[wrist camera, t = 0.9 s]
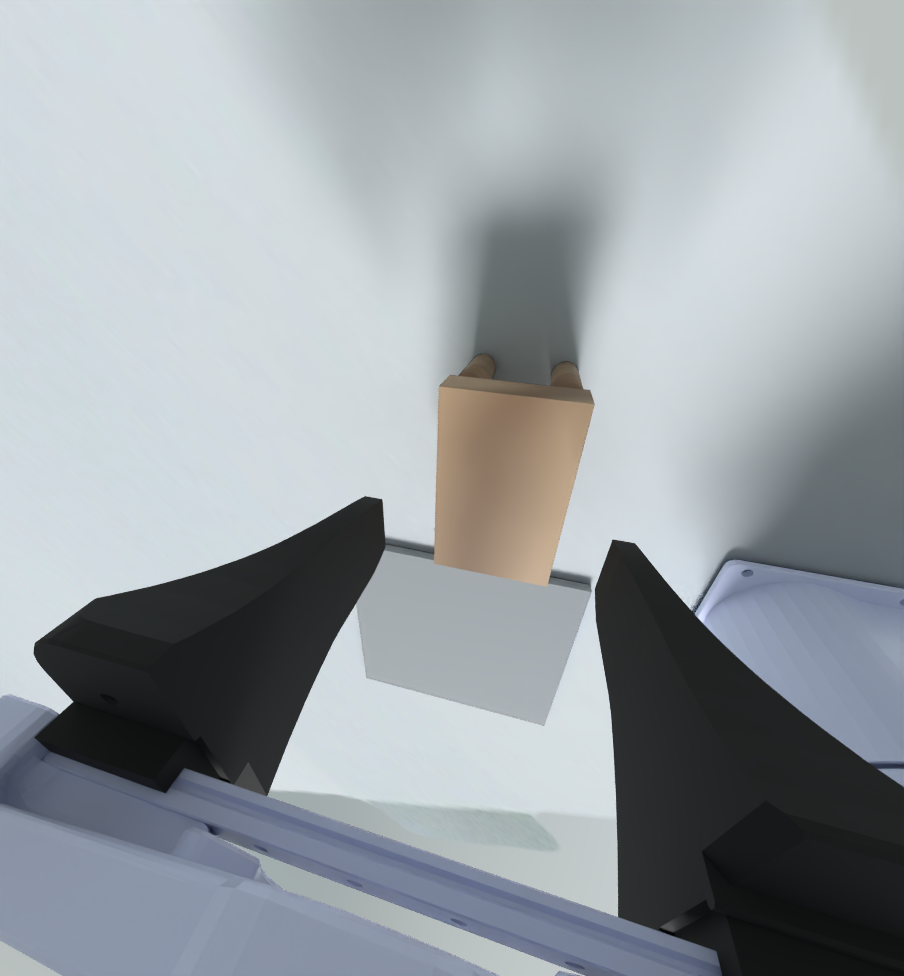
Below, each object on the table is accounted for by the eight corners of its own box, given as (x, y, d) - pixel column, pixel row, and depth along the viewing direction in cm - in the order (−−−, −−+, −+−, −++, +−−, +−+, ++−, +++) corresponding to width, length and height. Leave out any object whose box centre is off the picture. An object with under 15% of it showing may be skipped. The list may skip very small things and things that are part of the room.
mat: (590, 585, 22) (591, 592, 22) (544, 718, 31) (544, 725, 30) (352, 537, 25) (348, 543, 25) (369, 671, 34) (366, 677, 33)
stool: (581, 363, 16) (594, 404, 11) (548, 509, 20) (547, 586, 15) (471, 352, 17) (438, 386, 12) (461, 494, 21) (434, 563, 16)
